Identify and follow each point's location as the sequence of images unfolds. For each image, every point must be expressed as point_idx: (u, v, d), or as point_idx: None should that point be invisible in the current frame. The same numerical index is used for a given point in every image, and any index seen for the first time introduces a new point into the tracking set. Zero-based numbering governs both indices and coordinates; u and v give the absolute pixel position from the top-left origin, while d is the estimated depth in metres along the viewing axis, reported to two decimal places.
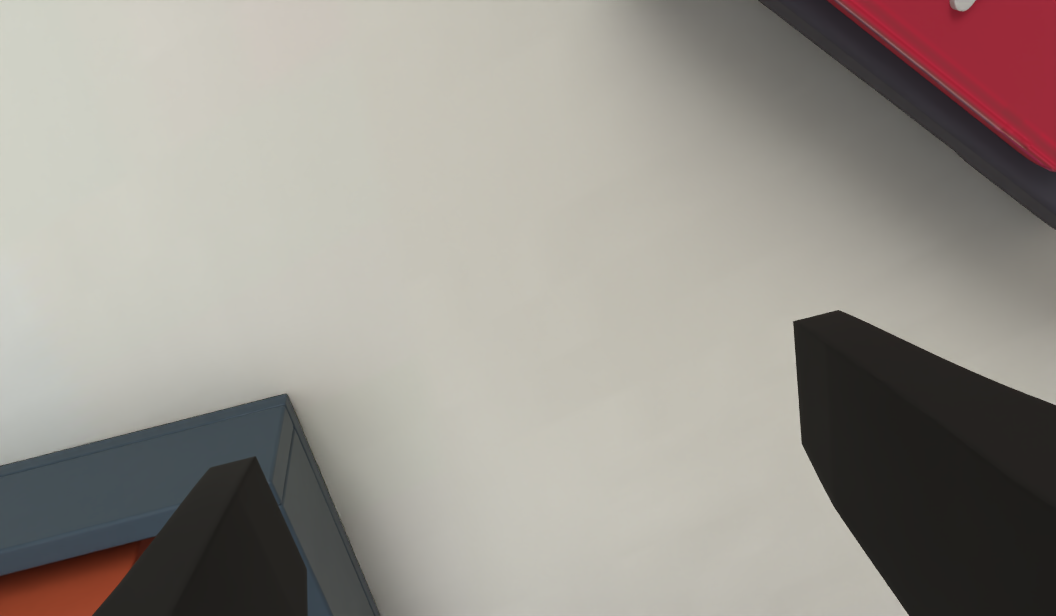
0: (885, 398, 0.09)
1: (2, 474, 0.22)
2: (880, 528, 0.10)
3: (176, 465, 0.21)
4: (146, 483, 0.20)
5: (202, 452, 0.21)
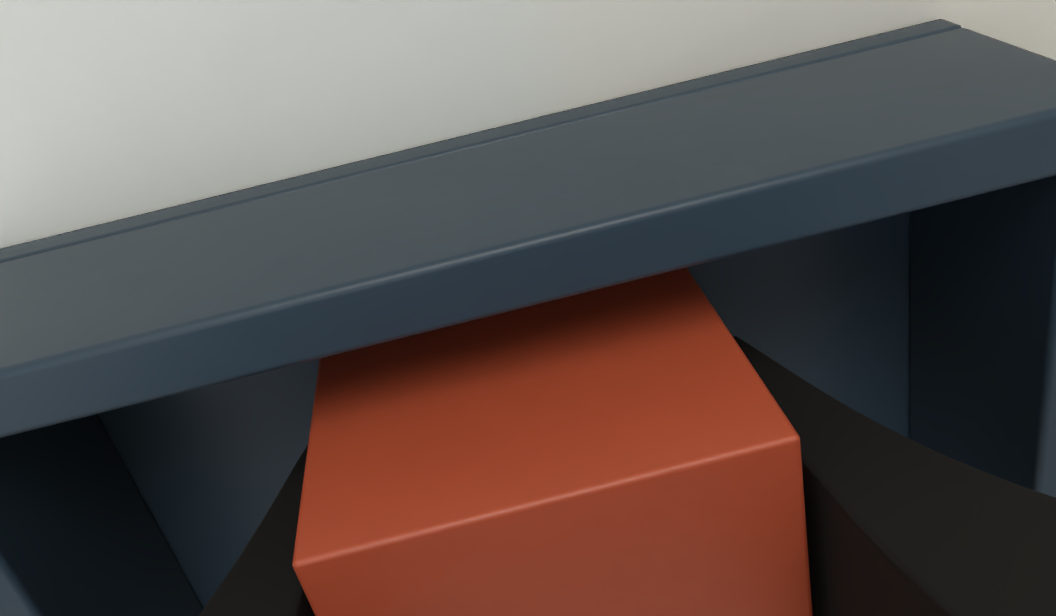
0: None
1: (393, 163, 0.11)
2: None
3: (822, 105, 0.10)
4: (781, 130, 0.09)
5: (862, 86, 0.10)
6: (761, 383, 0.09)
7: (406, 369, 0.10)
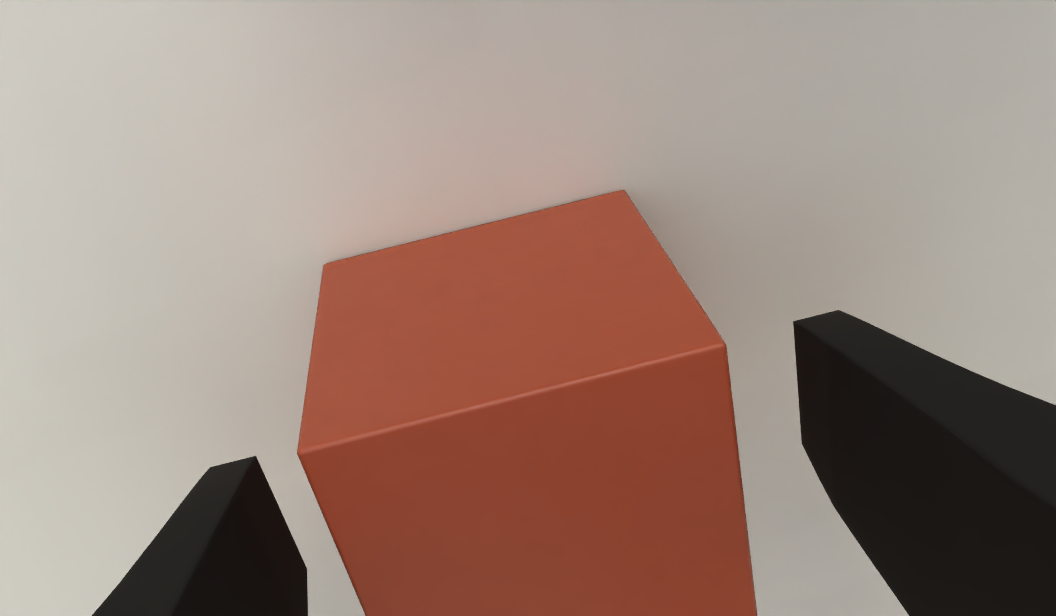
0: (885, 398, 0.09)
1: None
2: (879, 528, 0.10)
3: None
4: None
5: None
6: (698, 305, 0.10)
7: (395, 304, 0.11)
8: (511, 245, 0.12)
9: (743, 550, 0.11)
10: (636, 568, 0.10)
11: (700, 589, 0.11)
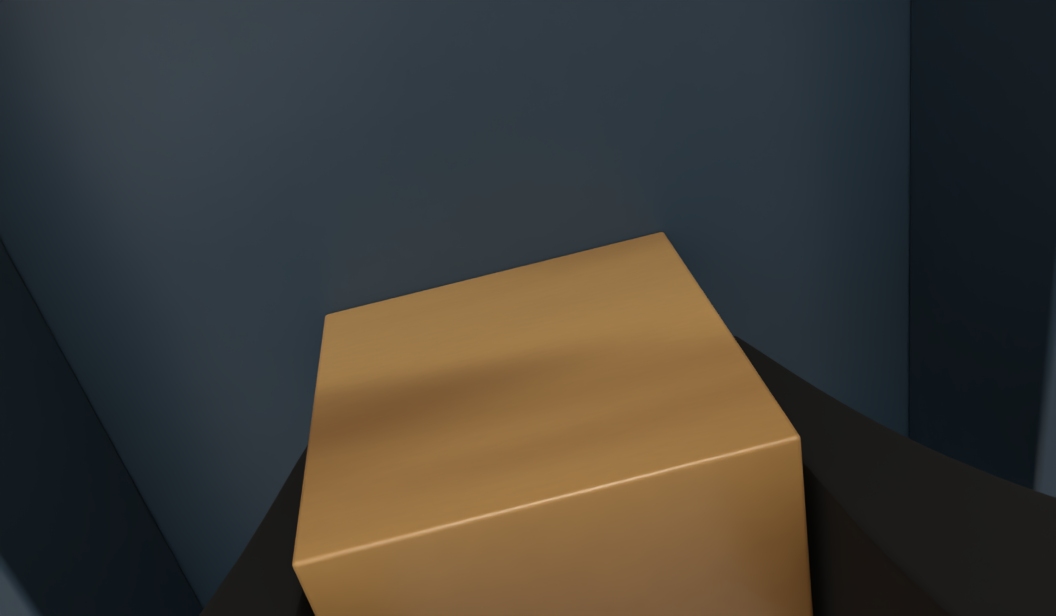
0: None
1: None
2: None
3: None
4: None
5: None
6: None
7: None
8: None
9: None
10: None
11: None
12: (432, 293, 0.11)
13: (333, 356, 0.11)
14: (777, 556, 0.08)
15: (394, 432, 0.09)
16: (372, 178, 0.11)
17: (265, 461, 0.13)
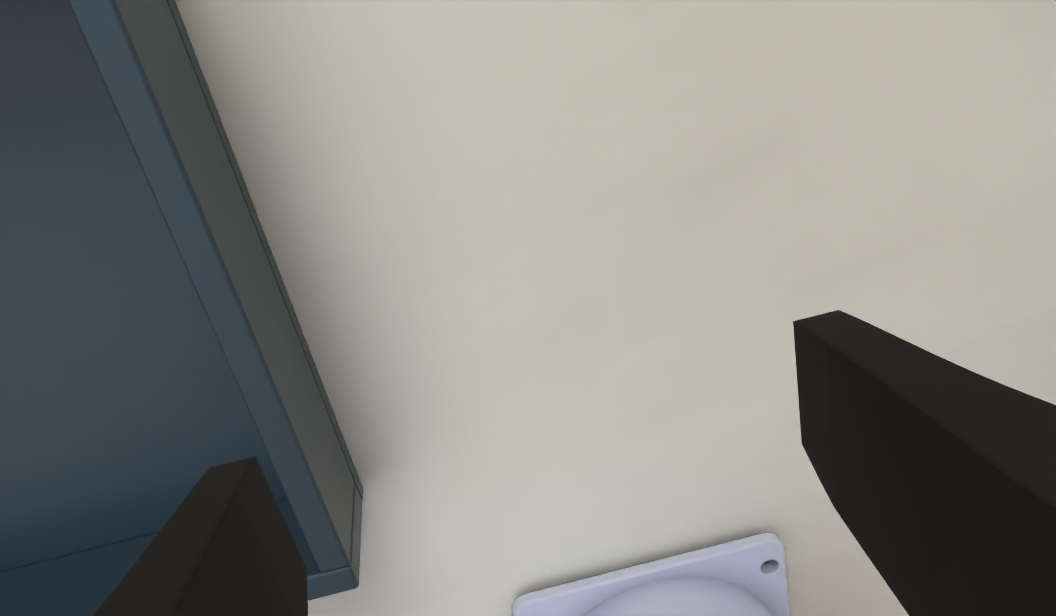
0: (885, 398, 0.09)
1: None
2: (879, 528, 0.10)
3: None
4: None
5: None
6: None
7: None
8: None
9: None
10: None
11: None
12: None
13: None
14: None
15: None
16: None
17: None
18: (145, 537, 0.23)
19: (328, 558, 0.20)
